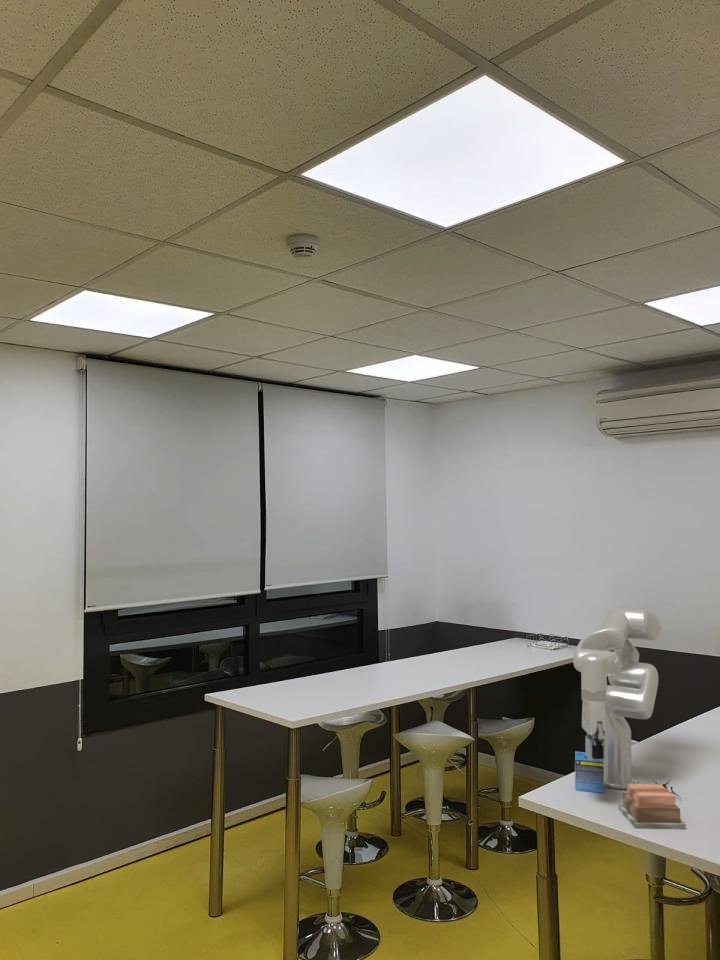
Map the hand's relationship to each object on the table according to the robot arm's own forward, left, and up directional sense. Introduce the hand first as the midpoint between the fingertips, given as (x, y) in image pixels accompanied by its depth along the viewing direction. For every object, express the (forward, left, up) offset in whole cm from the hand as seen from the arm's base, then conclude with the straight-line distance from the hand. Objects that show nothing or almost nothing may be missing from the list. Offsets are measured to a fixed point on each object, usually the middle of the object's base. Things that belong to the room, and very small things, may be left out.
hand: (595, 755), depth 223 cm
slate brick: (0, 0, -1) cm, 1 cm away
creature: (-6, +24, -15) cm, 29 cm away
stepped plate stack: (+10, +13, -15) cm, 22 cm away
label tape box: (-13, +2, -15) cm, 20 cm away
